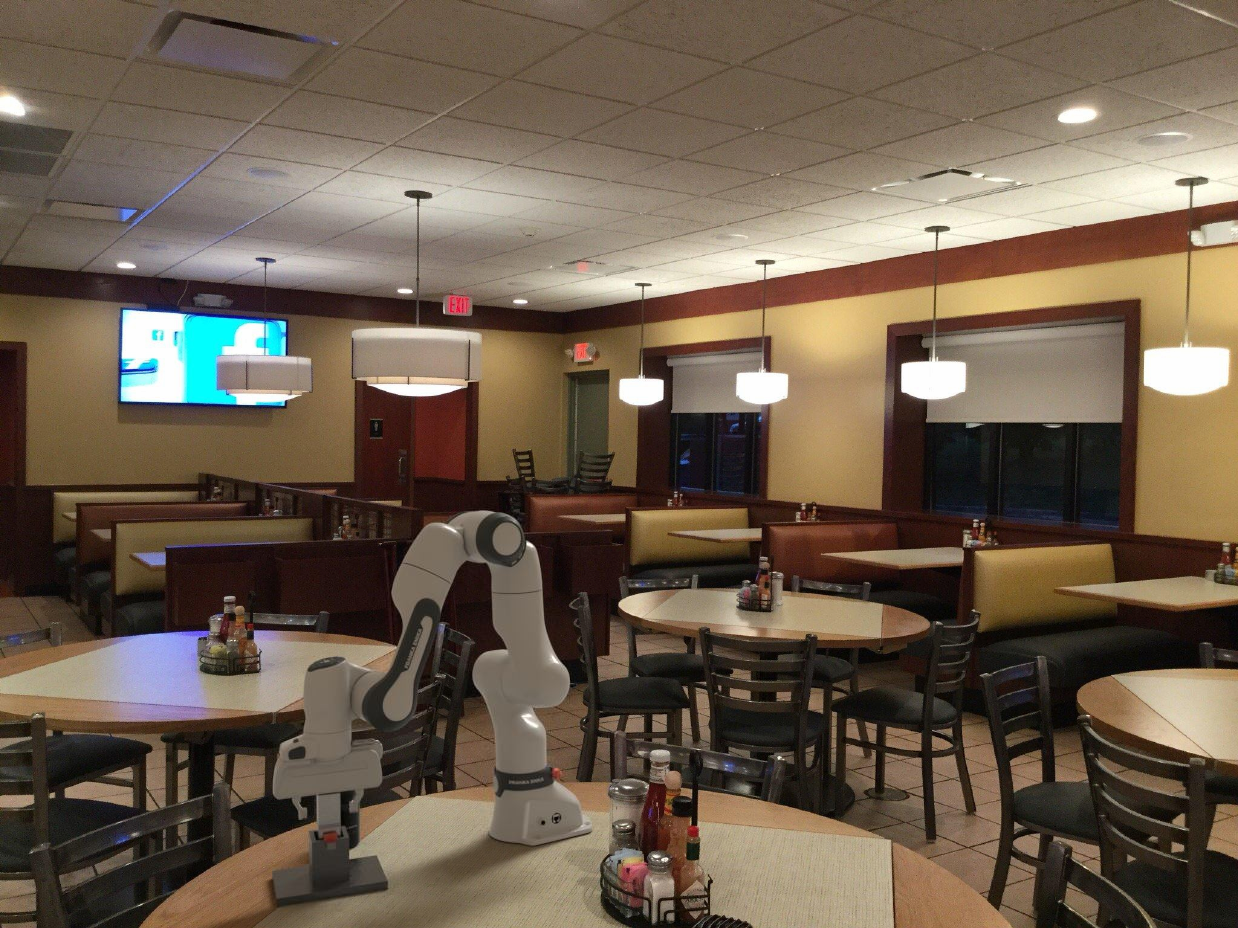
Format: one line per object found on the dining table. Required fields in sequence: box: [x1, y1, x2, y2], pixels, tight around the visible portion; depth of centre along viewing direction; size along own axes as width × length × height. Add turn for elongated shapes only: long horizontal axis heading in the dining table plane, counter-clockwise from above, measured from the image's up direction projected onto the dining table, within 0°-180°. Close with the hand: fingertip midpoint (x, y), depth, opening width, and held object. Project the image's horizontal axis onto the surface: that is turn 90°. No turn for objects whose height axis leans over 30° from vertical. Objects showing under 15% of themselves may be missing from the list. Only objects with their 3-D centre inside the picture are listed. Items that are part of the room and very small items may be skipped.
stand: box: [271, 826, 389, 908], centre depth 196 cm, size 20×14×10 cm
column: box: [316, 792, 341, 841], centre depth 196 cm, size 4×4×16 cm
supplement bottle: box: [340, 790, 361, 849], centre depth 216 cm, size 7×7×12 cm
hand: (328, 815), depth 196 cm, fingers open, 8 cm apart
